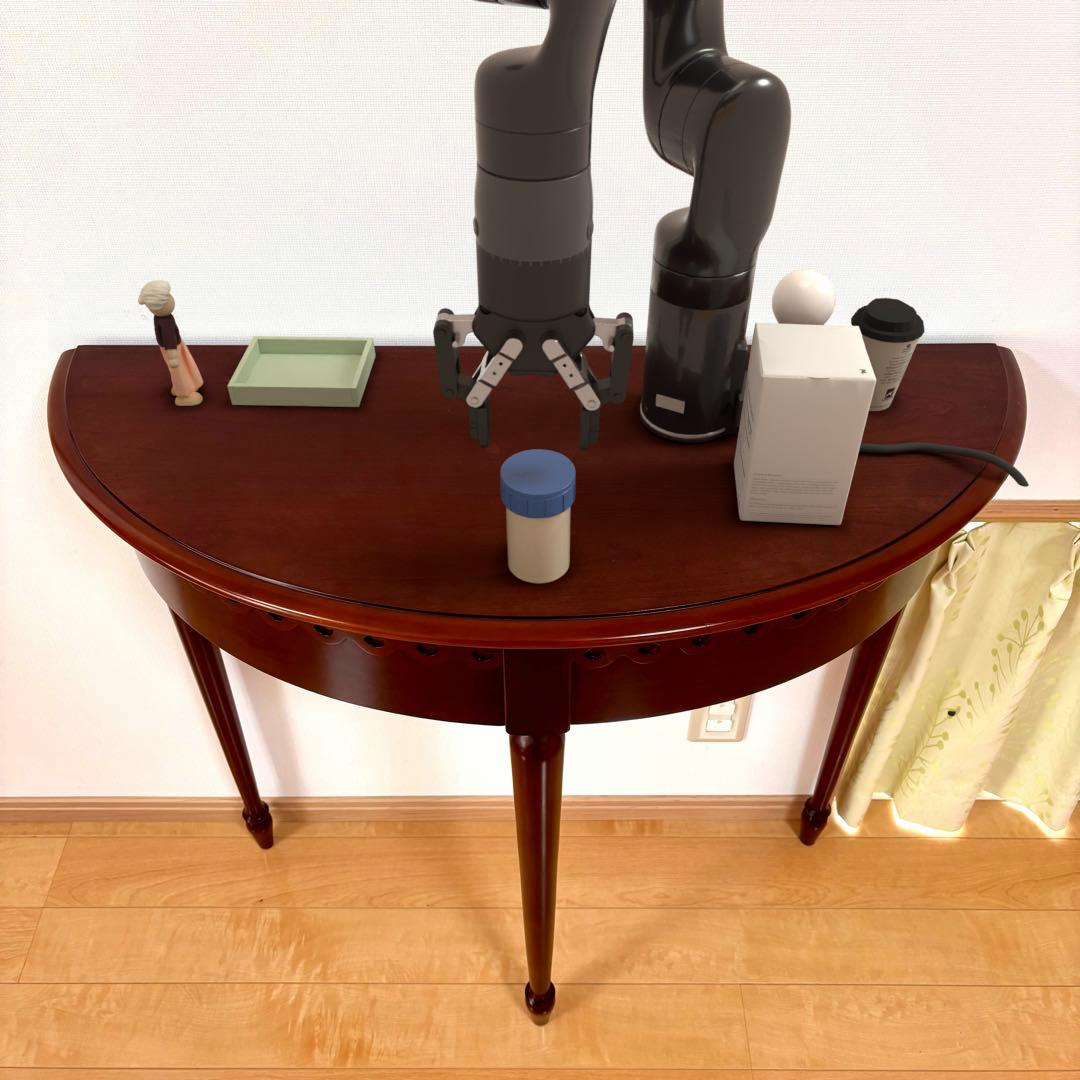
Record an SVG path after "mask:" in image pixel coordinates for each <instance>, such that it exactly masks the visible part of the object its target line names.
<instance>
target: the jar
mask: <svg viewBox="0 0 1080 1080" xmlns="http://www.w3.org/2000/svg"><path fill="white" fill-rule="evenodd" d="M571 516H572V505H571V506H570V507H569V508H568V509H567V510H566V511H564V512H563V513H561V514H559V515H556V516H553V517H549V518H540V519H536V518H527V517H523V516H520V515H517V514H515V513H513V512H512V511H510V510H509V509H508V508H507V507H506V506H505V522H506V524H505V525H506V546H507V547H506V548H507V549H506V550H507V566H508V569H509V571H510V573H512V575H513V576H514V577H516V578H517V579H519V580H521V581H523V582H526V583H531V584H546V583H547V584H548V583H552V582H554V581H556V580H558V579H560V578H561V577H563V576H564V575H565V574H566V573H567V572H568V569H569V568H570V564H571V562H570V561H571V525H572V523H571Z"/></svg>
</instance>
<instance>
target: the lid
mask: <svg viewBox="0 0 1080 1080" xmlns="http://www.w3.org/2000/svg"><path fill="white" fill-rule="evenodd" d="M576 471H577V470H576V466H575V465H574V463H573V462H572V461H571V460H570V458H568V457H567V456H565V455H564V454H562V453H560V452H557V451H554V450H550V449H542V448H537V449H533V448H532V449H526V450H521V451H520V452H517V453H514V454H512V455H511V456H510V457H508V458H506V460H505V461H504V462H503V464H502V465H501V467H500V471H499V472H500V473H499V475H500V483H499V487H500V500H501V501H502V503H503V505H504V507H505V508H506V507H507V508H508V509H509V510H510V511H512V512H513V513H515V514H517V515H520V516H523V517H527V518H536V519H540V518H549V517H553V516H556V515H559V514H561V513H563V512H564V511H566V510H567V509H568V508H569V507H570V506H571V507H572V505H573V503H574V502H575V501H576V473H577V472H576Z"/></svg>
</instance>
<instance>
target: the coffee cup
mask: <svg viewBox="0 0 1080 1080" xmlns="http://www.w3.org/2000/svg"><path fill="white" fill-rule="evenodd" d="M850 325H851V326H859V329H860V332H861V334H862V338H863V341H864V345H865V348H866V351H867V354H868V357H869V360H870V363H871V366H872V369H873V372H874V375H875V377H876V384H875V388H874V392H873V396H872V400H871V404H870V408H869V412H881V411H884V410H886V409H889V407H890V406H891V405H892V403H893V400H894V398H895V396H896V393H897V391H898V389H899V386H900V384H901V382H902V379H903V378H904V375H905V373H906V370H907V368H908V366H909V363H910V361H911V359H912V356H913V355H914V352H915V349H916V348H917V345H918V342H919V341H920V338H921V337H923V335H924V334H925V332H926V331H925V324H924V320H923V319H922V317H921V316H920V315H919V314H918V313H917V310H916V309H915V307H913V306H911V305H909V304H908V303H906V302H904V301H903V300H900V299H898V298H890V297H878V298H877V297H875V298H874V299H872V300H871V301H870V302H869V303H867V305H863V306H861V307H859V308H858V309H857V310H856V311H855V312H854V314H853V315H852V316H851V318H850Z"/></svg>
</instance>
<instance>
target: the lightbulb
mask: <svg viewBox="0 0 1080 1080" xmlns="http://www.w3.org/2000/svg"><path fill="white" fill-rule="evenodd" d="M836 295H837V294H836V290H835V288H834V285H833V283H832V281H831V280H830V279H829V277H828V276H826V275H825V274H824V273H822V272H820V271H818V270H816V269H810V268H801V269H800V268H799V269H796V270H793V271H791V272H789V273H787V274H786V275H785V276H783V277H782V278H781V279H780V280H779V281H778V283H777V285H776V286H775V288H774V290H773V293H772V295H771V310H772V313H773V316H774V318H775V320H776V322H777V324H805V325H826V323H827V322H828V321H829V320H830V319H831V317H832V315H833V313H834V311H835V307H836V302H837V296H836Z"/></svg>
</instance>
